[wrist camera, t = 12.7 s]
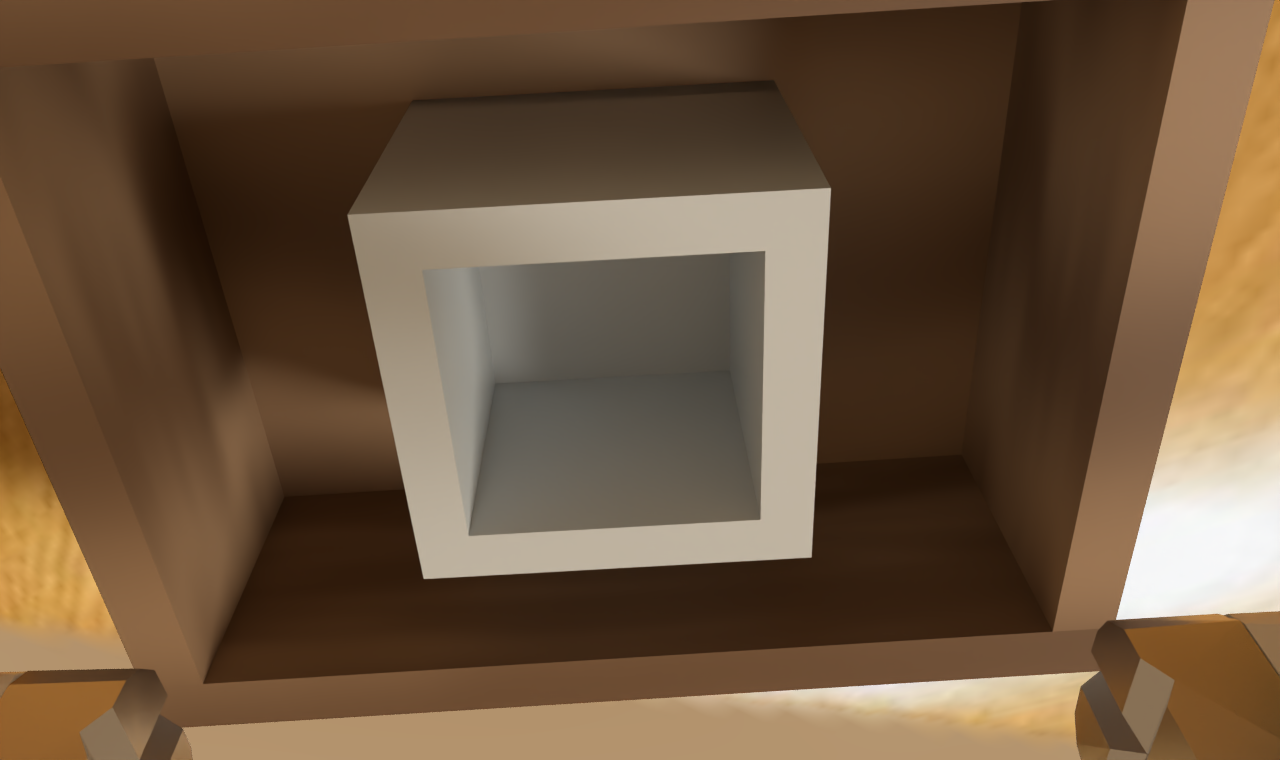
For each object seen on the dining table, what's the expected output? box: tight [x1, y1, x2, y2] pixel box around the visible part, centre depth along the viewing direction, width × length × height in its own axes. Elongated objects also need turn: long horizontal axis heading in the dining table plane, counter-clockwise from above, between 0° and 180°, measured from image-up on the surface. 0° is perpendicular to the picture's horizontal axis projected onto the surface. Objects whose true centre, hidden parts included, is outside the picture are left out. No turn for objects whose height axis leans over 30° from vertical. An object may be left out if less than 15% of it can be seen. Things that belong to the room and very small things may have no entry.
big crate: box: [0, 0, 1274, 728], centre depth 17 cm, size 12×16×6 cm
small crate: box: [348, 80, 831, 579], centre depth 16 cm, size 6×6×5 cm
